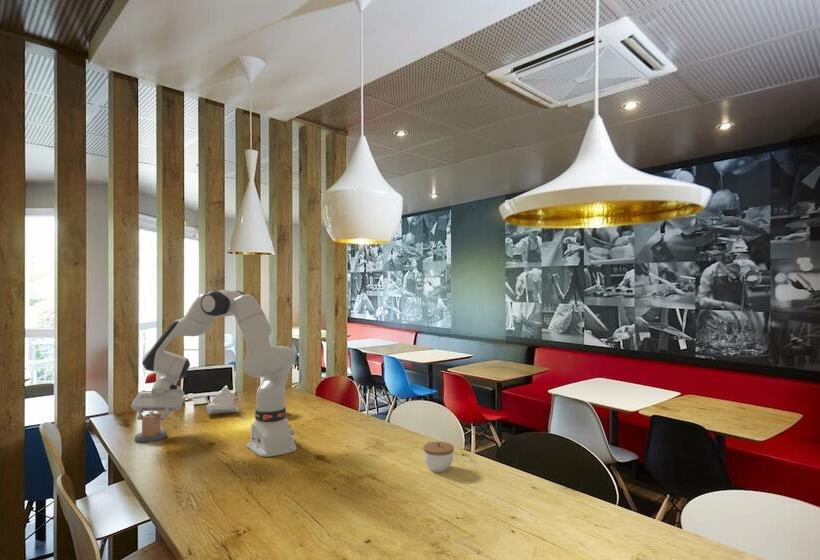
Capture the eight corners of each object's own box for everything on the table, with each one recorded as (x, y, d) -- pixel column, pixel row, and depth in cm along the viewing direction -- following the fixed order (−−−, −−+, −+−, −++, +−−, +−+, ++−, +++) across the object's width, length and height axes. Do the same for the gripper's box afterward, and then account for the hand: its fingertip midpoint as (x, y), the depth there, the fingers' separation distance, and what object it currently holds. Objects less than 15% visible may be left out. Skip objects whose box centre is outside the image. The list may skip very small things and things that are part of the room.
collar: (160, 432, 194) (160, 413, 195) (154, 436, 189) (154, 417, 190) (148, 432, 194) (148, 413, 195) (142, 436, 189) (142, 417, 190)
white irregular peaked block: (207, 414, 232) (210, 385, 236) (238, 414, 237) (241, 386, 241) (205, 414, 221) (208, 384, 225) (237, 414, 225) (240, 385, 229)
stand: (167, 439, 190) (168, 413, 190) (134, 444, 184) (134, 417, 184) (166, 431, 200) (166, 406, 200) (134, 436, 194) (135, 410, 194)
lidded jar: (428, 476, 154) (428, 448, 154) (419, 464, 164) (419, 438, 164) (458, 473, 157) (458, 445, 157) (447, 461, 167) (447, 435, 167)
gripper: (136, 386, 199) (122, 415, 189) (183, 386, 199) (171, 415, 189) (142, 394, 203) (129, 422, 194) (188, 394, 204) (177, 422, 194)
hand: (150, 419), depth 191 cm, fingers open, 8 cm apart
